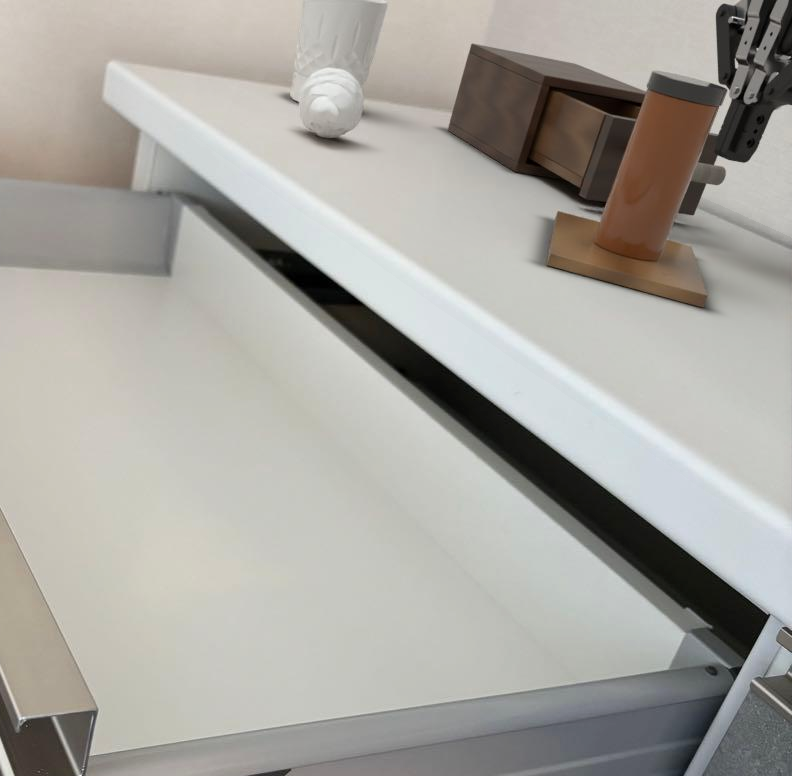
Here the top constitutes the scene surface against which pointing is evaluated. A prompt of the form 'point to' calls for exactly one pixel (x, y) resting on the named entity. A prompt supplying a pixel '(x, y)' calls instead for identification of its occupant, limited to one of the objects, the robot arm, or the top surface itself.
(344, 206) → the top surface
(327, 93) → the garlic bulb
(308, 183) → the top surface
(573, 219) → the cork mat
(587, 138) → the drawer
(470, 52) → the cabinet
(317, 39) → the white tapered cylinder
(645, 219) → the spice jar
